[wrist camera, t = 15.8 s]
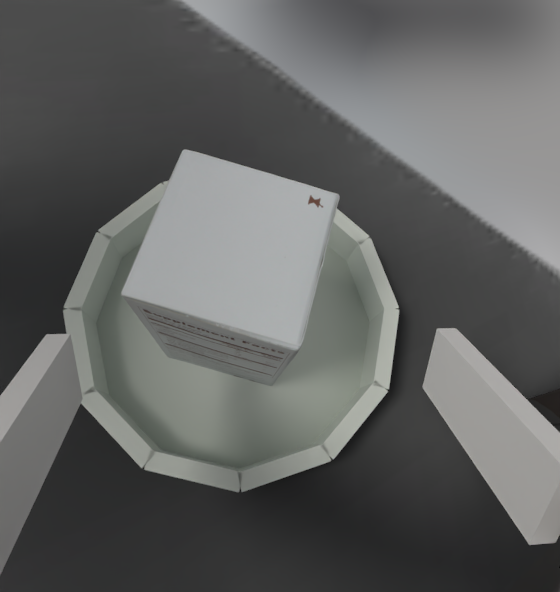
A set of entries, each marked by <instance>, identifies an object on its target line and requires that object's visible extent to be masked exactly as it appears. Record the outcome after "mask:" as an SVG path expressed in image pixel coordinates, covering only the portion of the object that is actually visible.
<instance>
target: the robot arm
mask: <svg viewBox="0 0 560 592" xmlns="http://www.w3.org/2000/svg"><path fill="white" fill-rule="evenodd" d="M422 388H423V389H424V391H425V392H426V393H427V395H428V396H429V398H430V399H431V401H432V402H433V404H434V405H435V407H436V408H437V410H438V411H439V413H440V414H441V416H442V417H443V419H444V420H445V421H446V423H447V424H448V426H449V427H450V429H451V430H452V432H453V433H454V435H455V436H456V438H457V439H458V441H459V442H460V444H461V445H462V447H463V448H464V449H465V451H466V452H467V454H468V455H469V457H470V458H471V460H472V461H473V463H474V464H475V466H476V467H477V469H478V470H479V472H480V473H481V475H482V476H483V477H484V479H485V480H486V482H487V483H488V485H489V486H490V488H491V489H492V491H493V492H494V494H495V495H496V497H497V498H498V500H499V501H500V503H501V504H502V506H503V507H504V508H505V510H506V511H507V513H508V514H509V516H510V517H511V519H512V520H513V522H514V523H515V525H516V526H517V528H518V529H519V531H520V532H521V534H522V535H523V536H524V538H525V539H526V541H527V542H528V544H529V545H536V544H547V543H556V541H557V539H558V537H559V535H560V418H558V417H557V416H556V415H555V414H554V413H553V412H552V411H551V410H550V409H548V408H546V407H545V406H543V405H541V404H540V403H538V402H537V401H535V400H527V399H526V398H525V397H524V396H523V395H522V394H521V393H520V392H519V391H518V390H517V389H516V388H515V387H514V386H513V385H512V384H511V383H510V382H509V381H508V380H507V379H506V378H505V377H504V376H503V375H502V374H501V373H500V372H499V371H498V370H497V369H496V368H495V367H494V366H493V365H492V364H491V363H490V362H489V361H488V360H487V359H486V358H485V357H484V356H483V355H482V354H481V353H480V352H479V351H478V350H477V349H476V348H475V347H474V346H473V345H472V344H471V343H470V342H469V341H468V340H467V339H466V338H465V337H464V336H463V335H462V334H461V333H460V332H459V331H458V330H457V329H456V328H442V329H437V330H436V334H435V339H434V343H433V347H432V351H431V355H430V359H429V363H428V367H427V371H426V375H425V379H424V383H423V387H422ZM82 400H83V397H82V392H81V387H80V382H79V376H78V371H77V366H76V360H75V355H74V350H73V344H72V339H71V334H46V335H45V337H44V338H43V339H42V341H41V342H40V343H39V345H38V346H37V347H36V349H35V350H34V351H33V353H32V354H31V355H30V357H29V358H28V359H27V361H26V362H25V363H24V365H23V366H22V367H21V369H20V370H19V371H18V373H17V374H16V376H15V377H14V378H13V380H12V381H11V382H10V384H9V385H8V386H7V388H6V389H5V390H4V392H3V393H2V394H1V396H0V575H1V573H2V570H3V568H4V566H5V564H6V562H7V560H8V558H9V555H10V553H11V551H12V549H13V547H14V545H15V543H16V541H17V538H18V536H19V534H20V532H21V530H22V528H23V526H24V523H25V521H26V519H27V517H28V515H29V513H30V511H31V508H32V506H33V504H34V502H35V500H36V498H37V496H38V494H39V491H40V489H41V487H42V485H43V483H44V481H45V479H46V476H47V474H48V472H49V470H50V468H51V466H52V464H53V461H54V459H55V457H56V455H57V453H58V451H59V449H60V447H61V444H62V442H63V440H64V438H65V436H66V434H67V432H68V429H69V427H70V425H71V423H72V421H73V419H74V417H75V414H76V412H77V410H78V408H79V406H80V404H81V402H82ZM559 568H560V567H559Z"/></svg>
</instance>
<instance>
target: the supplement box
mask: <svg viewBox="0 0 560 592" xmlns="http://www.w3.org/2000/svg"><path fill="white" fill-rule="evenodd" d="M339 198H340V196H339V195H338V194H337V193H333V192H329V191H326V190H322V189H319V188H316V187H313V186H310V185H306V184H303V183H300V182H296V181H293V180H290V179H286V178H283V177H279V176H276V175H273V174H270V173H266V172H262V171H259V170H256V169H252V168H249V167H246V166H242V165H239V164H236V163H232V162H229V161H225V160H222V159H219V158H216V157H212V156H209V155H205V154H202V153H198V152H194V151H190V150H183V151H182V153H181V155H180V157H179V159H178V162H177V164H176V166H175V168H174V171H173V173H172V175H171V177H170V179H169V182H168V184H167V186H166V189H165V191H164V193H163V196H162V198H161V200H160V203H159V205H158V207H157V210H156V212H155V214H154V216H153V219H152V221H151V223H150V226H149V228H148V230H147V233H146V235H145V237H144V240H143V242H142V244H141V247H140V249H139V251H138V254H137V256H136V259H135V261H134V263H133V266H132V268H131V270H130V273H129V275H128V278H127V280H126V282H125V285H124V287H123V289H122V291H121V295H122V296H123V298H124V299H125V300H126V302H127V303H128V304H129V306H130V307H131V309H132V310H133V311H134V312H135V314H136V315H137V316H138V318H139V319H140V321H141V322H142V323H143V325H144V326H145V327H146V328H147V330H148V331H149V332H150V334H151V335H152V337H153V338H154V339H155V341H156V342H157V344H158V345H159V346H160V348H161V349H162V350H163V352H164V353H165V354H166V356H167V357H169V358H173V359H177V360H180V361H184V362H187V363H191V364H194V365H198V366H201V367H205V368H208V369H212V370H215V371H219V372H222V373H226V374H229V375H233V376H236V377H240V378H243V379H247V380H250V381H254V382H257V383H261V384H265V385H268V386H272V385H273V384H274V382H275V381H276V379H277V378H278V377H279V376H280V374H281V373H282V372H283V371H284V369H285V368H286V367H287V366H288V364H289V363H290V362H291V361H292V360H293V358H294V357H295V356H296V354H297V353H298V351H299V350H300V348H301V347H302V344H303V340H304V336H305V332H306V328H307V324H308V320H309V316H310V312H311V309H312V305H313V301H314V297H315V293H316V289H317V285H318V281H319V277H320V273H321V270H322V266H323V263H324V259H325V253H326V249H327V245H328V241H329V237H330V233H331V229H332V225H333V221H334V217H335V213H336V209H337V206H338V202H339Z"/></svg>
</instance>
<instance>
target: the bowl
mask: <svg viewBox="0 0 560 592" xmlns="http://www.w3.org/2000/svg"><path fill="white" fill-rule="evenodd" d="M168 182H169V181H165V182H163V184H164V185H163V184H162V183H160V184H159V185H157V186H156V187H155V188H153V189H152V190H151V191H149V192H148V193H147V194H145V195H144V196H143V197H141V198H140V199H139V200H137V201H136V202H135V203H133V204H132V205H131V206H129V207H128V208H127V209H125V210H124V211H123V212H121V213H120V214H119V215H117V216H116V217H115V218H113V219H112V220H111V221H109V222H108V223H107V224H105V225H104V226H103V227H101V228H100V229H99V230H98V231H99V233H98V232H96V234H95V236H94V239H93V241H92V243H91V245H90V248H89V250H88V252H87V255H86V257H85V259H84V261H83V264H82V266H81V268H80V271H79V273H78V275H77V277H76V280H75V282H74V284H73V287H72V289H71V291H70V293H69V296H68V298H67V300H66V302H65V305H64V307H63V308H64V309H65V310H63V314H64V320H65V327H66V333H67V334H71V339H72V344H73V350H74V355H75V360H76V366H77V371H78V376H79V382H80V387H81V392H82V397H83V400H82V402H81V404H82V405H83V406H84V407H85V408H86V409H87V410H88V411H89V412H90V413H91V414H92V416H93V417H94V418H95V419H96V420H97V421H98V422H99V423H100V424H101V425H102V426H103V427H104V428H105V429H106V431H107V432H108V433H109V434H110V435H111V436H112V437H113V438H114V439H115V440H116V441H117V442H118V443H119V445H120V446H121V447H122V448H123V449H124V450H125V451H126V452H127V453H128V454H129V455H130V456H131V457H132V459H133V460H134V461H135V462H136V463H137V464H138V465H139V466H140V467H141V468H144V467H145V468H144V470H147V471H151V472H156V473H160V474H164V475H168V476H172V477H176V478H181V479H185V480H189V481H193V482H197V483H202V484H206V485H210V486H214V487H218V488H222V489H227V490H231V491H235V492H239V490H240V488H241V491H242V492H244V491H247V490H250V489H253V488H256V487H258V486H261V485H264V484H267V483H270V482H273V481H276V480H279V479H281V478H284V477H287V476H290V475H293V474H296V473H299V472H302V471H304V470H307V469H310V468H313V467H316V466H319V465H322V464H325V463H327V462H330V461H331V459H333V460H334V458H335V457H336V456H337V455H338V453H339V452H340V451H341V450H342V448H343V447H344V446H345V445H346V443H347V442H348V441H349V440H350V438H351V437H352V436H353V435H354V433H355V432H356V431H357V430H358V428H359V427H360V426H361V425H362V423H363V422H364V421H365V420H366V418H367V417H368V416H369V415H370V413H371V412H372V411H373V410H374V408H375V407H376V406H377V405H378V404H379V402H380V401H381V400H382V399H383V397H384V396H385V395H386V394H387V392H388V391H387V390H388V389H389V386H390V378H391V371H392V363H393V355H394V348H395V340H396V333H397V325H398V317H399V310H398V308H399V306H398V304H397V301H396V299H395V296H394V294H393V291H392V289H391V287H390V284H389V282H388V279H387V277H386V274H385V272H384V269H383V267H382V264H381V262H380V260H379V257H378V255H377V252H376V250H375V247H374V245H373V242H372V240H371V238H369V235H367V234H366V233H365V232H364V231H363V230H362V229H360V228H359V227H358V226H357V225H356V224H355V223H353V222H352V221H351V220H350V219H349V218H348V217H346V216H345V215H344V214H343V213H342V212H341V211H339V210H338V209H336V213H335V217H334V221H333V225H332V229H331V233H330V237H329V241H328V245H327V249H326V253H325V259H324V263H323V266H322V270H321V273H320V277H319V281H318V285H317V289H316V293H315V297H314V301H313V305H312V309H311V312H310V316H309V320H308V324H307V328H306V332H305V336H304V340H303V344H302V347H301V348H300V350H299V351H298V353H297V354H296V356H295V357H294V358H293V360H292V361H291V362H290V363H289V364H288V366H287V367H286V368H285V369H284V371H283V372H282V373H281V374H280V376H279V377H278V378H277V379H276V381H275V382H274V384H273V385H272V386H268V385H265V384H261V383H257V382H254V381H250V380H247V379H243V378H240V377H236V376H233V375H229V374H226V373H222V372H219V371H215V370H212V369H208V368H205V367H201V366H198V365H194V364H191V363H187V362H184V361H180V360H177V359H173V358H169V357H167V356H166V354H165V353H164V352H163V350H162V349H161V348H160V346H159V345H158V344H157V342H156V341H155V339H154V338H153V337H152V335H151V334H150V332H149V331H148V330H147V328H146V327H145V326H144V325H143V323H142V322H141V321H140V319H139V318H138V316H137V315H136V314H135V312H134V311H133V310H132V309H131V307H130V306H129V304H128V303H127V302H126V300H125V299H124V298H123V296H122V295H121V291H122V289H123V287H124V285H125V282H126V280H127V278H128V275H129V273H130V270H131V268H132V266H133V263H134V261H135V259H136V256H137V254H138V251H139V249H140V247H141V244H142V242H143V240H144V237H145V235H146V233H147V230H148V228H149V226H150V223H151V221H152V219H153V216H154V214H155V212H156V210H157V207H158V205H159V203H160V200H161V198H162V196H163V193H164V191H165V189H166V186H167V184H168Z"/></svg>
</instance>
